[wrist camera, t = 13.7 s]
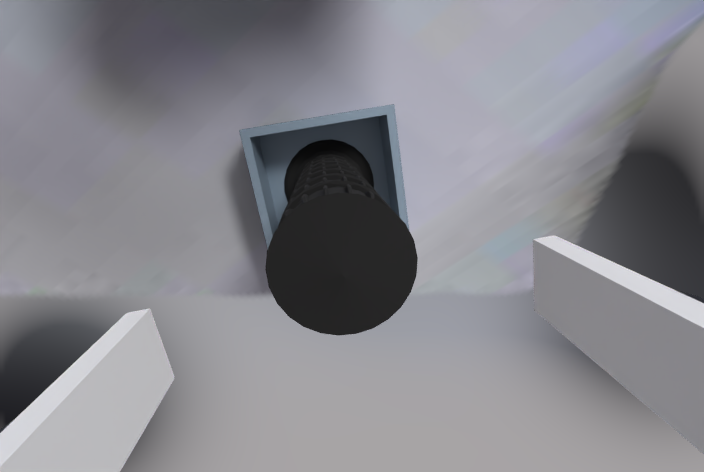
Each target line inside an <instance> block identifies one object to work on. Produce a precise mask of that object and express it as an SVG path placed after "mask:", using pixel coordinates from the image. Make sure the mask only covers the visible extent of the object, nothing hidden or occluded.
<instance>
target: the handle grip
mask: <svg viewBox="0 0 704 472" xmlns="http://www.w3.org/2000/svg"><path fill="white" fill-rule="evenodd" d="M284 185H285V194H286V198H287V201H288V204H287V206H286V208H285V210H284V212H283V214H282V217H281V220H280V222H279V225H278V228H277V229H276V231H275V232H274V234H273V237H272V239H271V242H270V245H269V247H268V250H267V259H266V274H267V279H268V284H269V288H270V290H271V292H272V294H273V296H274V298H275V300H276V302H277V304H278V305H279V306H280V307H281V308H282V309H283V310H284V312H285V313H286V314H287V315H288V316H289V317H290V318H292V319H293V320H295V321H296V322H298V323H299V324H301V325H302V326H303V327H306V328H309V329H312V330H314V331H317V332H320V333H325V334H332V335H346V334H356V333H359V332H363V331H366V330H369V329H372V328H374V327H376V326H378V325H379V324H381V323H382V322H384V321H386V320H388V319H389V318H390V317H391V316H392V315H393V314H394V313H395V312H396V311H397V310H398V309H399V308H401V306H402V305H403V303H404V302H405V300H406V299H407V297H408V295H409V294H410V292H411V290H412V287H413V284H414V281H415V278H416V272H417V253H416V248H415V243H414V240H413V238H412V236H411V234H410V232H409V230H408V228H407V226H406V224H405V223H404V222H403V221H402V220H401V218H400V217H399V216H398V215H397V214H396V213H395V212H394V211H393V210H392V208H391V207H390V206H389V205H388V204H387V203H386V202H385V201H384V200H383V199H382V197H381V196H380V195H379V194H378V193H377V192H376V191H375V189H374V179H373V173H372V170H371V167H370V164H369V163H368V161H367V160H366V158H365V157H364V156H363V154H362V153H360V152H359V151H358V150H357V149H356V148H355V147H353V146H351V145H349V144H347V143H345V142H343V141H338V140H333V139H329V140H320V141H316V142H313V143H310V144H308V145H307V146H305V147H304V148H302V149H301V150H299V151H298V153H297V154H296V155H295V156H294V157H293V158H292V160H291V162H290V164H289V166H288V167H287V170H286V175H285V180H284Z"/></svg>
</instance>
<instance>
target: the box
mask: <svg viewBox="0 0 704 472" xmlns="http://www.w3.org/2000/svg"><path fill="white" fill-rule="evenodd" d="M239 132H240V136H241V140H242V144H243V148H244V152H245V157H246V161H247V165H248V169H249V173H250V177H251V182H252V186H253V190H254V194H255V198H256V202H257V207H258V211H259V215H260V219H261V223H262V227H263V232H264V236H265V240H266V244H267V248H268V247H269V245H270V242H271V239H272V237H273V234H274V232H275V231H276V229H277V228H278V225H279V222H280V220H281V217H282V214H283V212H284V210H285V208H286V206H287V204H288V201H287V198H286V194H285V185H284V180H285V175H286V170H287V167H288V166H289V164H290V162H291V160H292V158H293V157H294V156H295V155H296V154H297V153H298V151H299V150H301V149H302V148H304V147H305V146H307V145H308V144H310V143H313V142H316V141H320V140H329V139H333V140H338V141H343V142H345V143H347V144H349V145H351V146H353V147H355V148H356V149H357V150H358V151H359V152H360V153H362V154H363V156H364V157H365V158H366V160H367V161H368V163H369V164H370V167H371V170H372V173H373V179H374V189H375V191H376V192H377V193H378V194H379V195H380V196H381V197H382V199H383V200H384V201H385V202H386V203H387V204H388V205H389V206H390V207H391V208H392V210H393V211H394V212H395V213H396V214H397V215H398V216H399V217H400V218H401V220H402V221H403V222H404V223H405V224H406V226H407V228H408V230H409V225H408V216H407V208H406V200H405V191H404V183H403V174H402V166H401V158H400V149H399V141H398V133H397V124H396V116H395V108H394V104H392V105H386V106H380V107H374V108H368V109H362V110H356V111H350V112H344V113H338V114H332V115H326V116H320V117H314V118H308V119H302V120H296V121H290V122H284V123H278V124H272V125H266V126H260V127H254V128H248V129H242V130H239Z"/></svg>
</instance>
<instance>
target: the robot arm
mask: <svg viewBox="0 0 704 472" xmlns="http://www.w3.org/2000/svg"><path fill="white" fill-rule="evenodd" d="M533 263H534V311H535V312H537V313H538V314H539V315H540V316H542V317H543V318H544V319H545V320H546V321H547V322H548V323H550V324H551V325H552V326H553V327H554V328H556V329H557V330H558V331H559V332H560V333H561V334H563V335H564V336H565V337H566V338H567V339H569V340H570V341H571V342H572V343H573V344H574V345H576V346H577V347H578V348H579V349H580V350H581V351H583V352H584V353H585V354H586V355H587V356H588V357H590V358H591V359H592V360H593V361H594V362H596V363H597V364H598V365H599V366H600V367H601V368H603V369H604V370H605V371H606V372H607V373H608V374H610V375H611V376H612V377H613V378H615V379H616V380H617V381H618V382H619V383H620V384H622V385H623V386H624V387H625V388H626V389H627V390H629V391H630V392H631V393H632V394H633V395H634V396H636V397H637V398H638V399H639V400H640V401H641V402H643V403H644V404H645V405H646V406H647V407H649V408H650V409H651V410H652V411H653V412H654V413H656V414H657V415H658V416H659V417H660V418H661V419H663V420H664V421H665V422H666V423H668V424H669V425H670V426H671V427H672V428H673V429H674V430H676V431H677V432H678V433H679V434H681V436H683V437H684V438H685V439H686V440H687V441H689V442H690V443H691V444H692V445H693V446H695V447H696V448H697V449H698V450H699V451H700V452H702V453H703V454H704V298H701V297H699V296H696V295H692V294H688V293H684V292H681V291H677V290H673V289H671V288H669V287H667V286H664V285H662V284H660V283H658V282H656V281H653V280H651V279H649V278H647V277H644V276H642V275H640V274H638V273H636V272H634V271H631V270H629V269H627V268H624V267H623V266H621V265H618V264H616V263H614V262H612V261H609V260H607V259H605V258H603V257H601V256H598V255H596V254H594V253H592V252H590V251H587V250H585V249H583V248H581V247H579V246H577V245H574V244H572V243H570V242H568V241H566V240H563V239H561V238H559V237H557V236H549V237H544V238H538V239H533ZM174 378H175V377H174V374H173V372H172V369H171V366H170V363H169V360H168V357H167V354H166V352H165V349H164V346H163V343H162V340H161V337H160V335H159V332H158V329H157V326H156V323H155V321H154V318H153V315H152V312H151V309H145V310H139V311H134V312H128V313H126V314H125V315H124V316H123V317H122V318H121V319H120V320H119V321H118V322H117V323H116V324H115V325H114V326H112V327H111V328H110V329H109V330H108V331H107V332H106V333H105V334H104V335H103V336H102V337H101V338H100V339H99V340H98V341H97V342H96V343H95V344H94V345H92V346H91V347H90V348H89V349H88V350H87V351H86V352H85V353H84V354H83V355H82V356H81V357H80V358H79V359H78V360H77V361H76V362H75V363H74V364H72V365H71V366H70V367H69V368H68V369H67V370H66V371H65V372H64V373H63V374H62V375H61V376H60V377H59V378H58V379H57V380H56V381H55V382H54V383H53V384H51V385H50V386H49V387H48V388H47V389H46V390H45V391H44V392H43V393H42V394H41V395H40V396H39V397H38V398H37V399H36V400H35V401H34V402H33V403H31V404H30V405H29V406H28V407H27V408H26V409H25V410H24V411H23V412H22V413H21V414H20V415H19V416H18V417H17V418H16V419H14V420H13V421H12V422H10V423H9V424H7V425H6V426H4V427H3V428H1V429H0V472H120V471H121V469H122V467H123V466H124V464H125V462H126V460H127V459H128V457H129V455H130V454H131V452H132V450H133V448H134V447H135V445H136V443H137V442H138V440H139V438H140V436H141V435H142V433H143V431H144V430H145V428H146V426H147V425H148V423H149V421H150V419H151V418H152V416H153V414H154V413H155V411H156V409H157V407H158V405H159V404H160V402H161V401H162V399H163V397H164V395H165V394H166V392H167V390H168V389H169V387H170V385H171V383H172V382H173V380H174Z"/></svg>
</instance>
